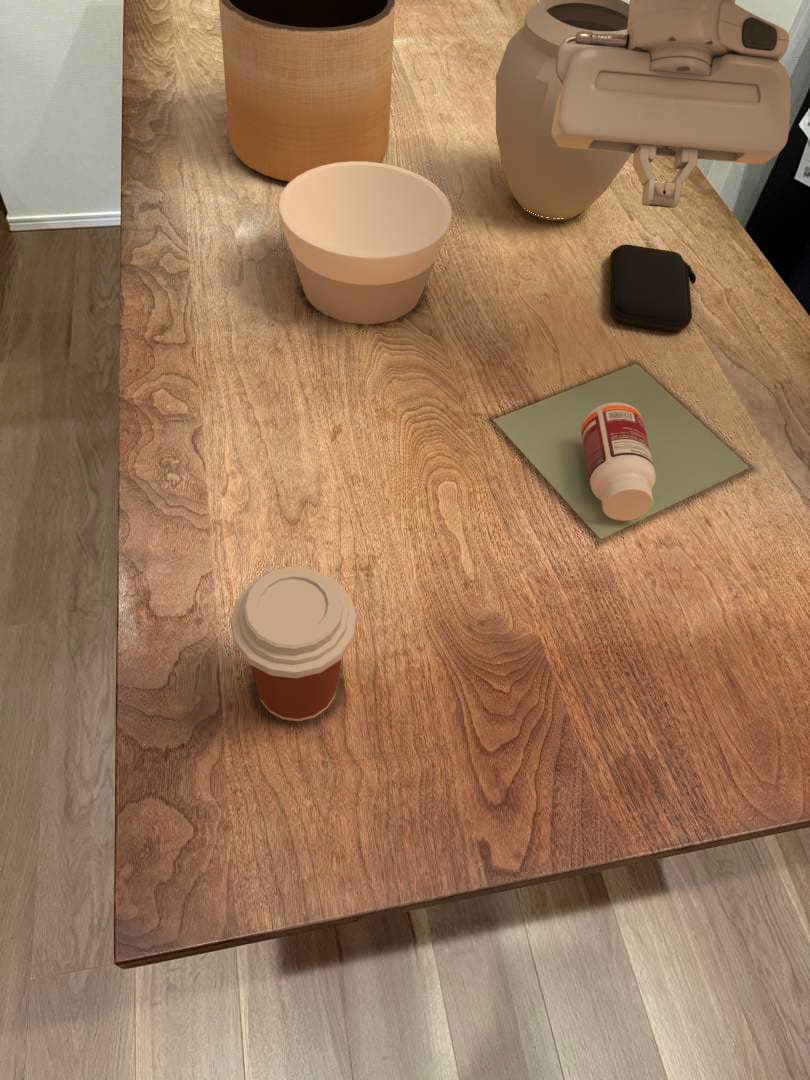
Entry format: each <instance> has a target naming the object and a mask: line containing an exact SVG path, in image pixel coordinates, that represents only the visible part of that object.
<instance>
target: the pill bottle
mask: <svg viewBox="0 0 810 1080" xmlns="http://www.w3.org/2000/svg"><path fill="white" fill-rule="evenodd" d="M581 436H582V441H583V447H584V452H585V458H586V463H587V469H588V474H589V480H590V485H591V489H592V492H593V493H594V495H595V496H596V497H597V498H598V499H600V500H601V502H602V508H603V511H604V513H605V514H606V515H607V516H608V517H610V518H612V519H615V520H622V521H625V520H632V519H636V518H639V517H641V516H643V515H644V514H646V513H647V512H648V511H649V510H650V509H651V507H652V505H653V496H652V491H651V489H652V488H653V486H654V484H655V479H656V474H655V469H654V465H653V461H652V457H651V452H650V448H649V444H648V440H647V436H646V431H645V427H644V423H643V419H642V416H641V414H640V413H639V411H638V410H637V409H636V408H634V407H633V406H631V405H628V404H625V403H618V402H614V403H607V404H604V405H601V406H599V407H597V408H595V409H593V410H592V411H591V412H590V413H588V414H587V416H586V417H585V418H584V420H583V422H582V425H581Z"/></svg>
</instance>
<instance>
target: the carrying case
mask: <svg viewBox="0 0 810 1080" xmlns="http://www.w3.org/2000/svg"><path fill="white" fill-rule="evenodd" d="M608 275H609V278H608V279H609V286H608V287H609V288H608V289H609V290H608V291H609V293H608V294H609V295H608V309H609V314H610V316H611V317H612V319H613V320H614V321H615V322H616V323H617V324H620V325H624V326H630V327H637V328H643V329H650V330H657V331H662V332H669V333H675V332H679V331H681V330H684V329H687V327H688V326H689V325H690V323H691V320H692V318H693V311H692V301H691V288H690V287H691V286H690V283H691V284H692V285H694V284H696V281H697V276H696V274H695V272H694V271H693V268H692V266H691V265H690V264H689V263H687V262H686V261H685V260H684V258H683V256H682V255H681V254H680V253H679V252H676V251H673V250H666V249H660V248H654V247H646V246H641V245H633V244H620V245H618V246H617V247H615V248H614V249H612V251H611V252H610V254H609V273H608Z"/></svg>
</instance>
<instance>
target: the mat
mask: <svg viewBox="0 0 810 1080" xmlns="http://www.w3.org/2000/svg"><path fill="white" fill-rule="evenodd" d="M614 402H618V403H625V404H628V405H631V406H633V407H634V408H636V409H637V410H638V411H639V413H640V414H641V416H642V419H643V423H644V427H645V431H646V436H647V440H648V444H649V448H650V452H651V457H652V461H653V465H654V469H655V474H656V479H655V484H654V486H653V488H652V489H651V491H652V496H653V505H652V507H651V509H650V510H649V511H648V512H647V513H646V514H644V515H643V516H641V517H639V518H636V519H632V520H625V521H622V520H615V519H612V518H610V517H608V516H607V515H606V514H605V513H604V511H603V508H602V502H601V500H600V499H598V498H597V497H596V496H595V495H594V493H593V492H592V489H591V485H590V480H589V474H588V469H587V463H586V458H585V452H584V447H583V441H582V436H581V425H582V422H583V420H584V418H585V417H586V416H587V414H588V413H590V412H591V411H592V410H593V409H595V408H597V407H599V406H601V405H604V404H607V403H614ZM492 421H493V423H494V424H495V425H496V426H497V427H498V428H499V430H500V431H501V432H502V433H503V434H504V435H505V436H506V437H507V438H508V440H509V441H510V442H511V443H512V444H513V445H514V446H515V447H516V449H518V451H520V453H521V454H522V455H523V456H524V457H525V458H526V459H527V460H528V462H529V463H530V464H531V465H532V466H533V467H534V468H535V469H536V470H537V472H538V473H539V474H540V475H541V477H543V478H544V480H545V481H547V483H548V484H549V485H550V486H551V487H552V488H553V489H554V490H555V492H556V493H557V494H558V495H559V496H560V497H561V498H562V499H563V500H564V502H565V503H566V504H567V505H568V506H569V507H570V508H571V509H572V511H574V513H575V514H576V515H577V516H578V517H579V518H580V519H581V520H582V522H583V523H584V524H585V525H586V526H587V527H588V528H589V529H590V530H591V531H592V533H593V534H594V535H595V536H596V537H597V538H598V539H599V540H603V539H605V538H607V537H609V536H611V535H613V534H616V533H617V532H620V531H621V530H623V529H625V528H628V527H630V526H632V525H634V524H636V523H638V522H641V521H642V520H644V519H647V518H649V517H651V516H653V515H655V514H658V513H659V512H662V511H663V510H665V509H667V508H669V507H672V506H673V505H676V504H677V503H680V502H681V501H684V500H687V499H689V498H690V497H692V496H694V495H697V494H699V493H701V492H703V491H705V490H707V489H709V488H711V487H714V486H715V485H717V484H719V483H722V482H725V481H726V480H727V479H730V478H732V477H734V476H736V475H737V474H738V475H739V474H740V473H742V472H745V471H747V470H749V469H750V466H749V465H748V464H747V463H746V462H744V461H743V460H742V459H741V458H740V457H739V456H738V455H737V454H736V453H734V451H733V450H732V449H730V448H729V447H728V446H727V445H726V444H725V443H724V442H723V441H722V440H720V439H719V438H718V437H717V436H716V435H715V434H714V433H713V432H712V431H711V430H710V429H709V428H707V426H705V425H704V424H703V423H702V422H701V421H700V420H699V419H698V418H697V417H695V415H693V414H692V413H691V412H690V411H689V410H688V409H687V408H685V406H683V404H681V403H680V402H679V401H678V400H677V399H676V398H675V397H674V396H673V395H671V394H670V393H669V392H668V390H666V389H665V388H664V387H663V386H662V385H661V384H660V383H659V382H657V380H655V378H654V377H652V376H651V375H650V374H649V373H648V372H646V370H644V369H643V368H642V367H641V366H640V365H639V364H638V363H634V364H631V365H629V366H626V367H624V368H621V369H619V370H617V371H613V372H611V373H609V374H605V375H603V376H601V377H599V378H596V379H593V380H591V381H588V382H585V383H582V384H580V385H578V386H575V387H572V388H571V389H568V390H565V391H563V392H560V393H558V394H557V393H556V394H555V395H552V396H550V397H548V398H545V399H542V400H539V401H537V402H534V403H531V404H529V405H527V406H524V407H521V408H519V409H516V410H513V411H512V412H509V413H506V414H503V415H500V416H499V417H497V418H493V419H492Z"/></svg>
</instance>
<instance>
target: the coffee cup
mask: <svg viewBox="0 0 810 1080" xmlns="http://www.w3.org/2000/svg"><path fill="white" fill-rule="evenodd" d="M357 621H358V614H357V611H356V608H355V605H354V602H353V599H352V596H351V595H350V594H349V592H348V591H347V590H345V588H344V587H343V586H342V585H341V584H340V582H339V581H337V580H336V579H334V578H333V577H331V576H328V575H327V574H324V573H322V572H321V571H318V570H316V569H314V568H312V567H304V566H297V565H291V566H286V567H280V568H275V569H273V570H270V571H269V572H267V573H266V574H264V575H262V576H260V577H259V578H257V579H255V580H254V581H252V582H250V583H249V584H248V585H247V587H246V588H245V589H244V590H243V592H242V593H241V594H240V595H239V596H238V598H237V599H236V600H235V603H234V607H233V610H232V613H231V618H230V628H231V632H232V636H233V641H234V645H235V648H236V649H237V650H238V652H239V653H240V654H241V656H242V657H243V659H245V661H246V662H247V663H248V664H249V665H250V668H251V672H252V675H253V679H254V681H255V685H256V689H257V692H258V695H259V699H260V702H261V703H262V705H263V706H264V707H265V708H266V710H267V711H268V712H269V713H270V714H272V715H273V716H276V717H278V718H280V719H282V720H285V721H292V722H293V721H294V722H301V721H306V720H310V719H314V718H316V717H317V716H318V715H320V714H322V713H324V712H325V711H326V710H327V709H328V708H329V707H330V705H331V704H332V703H333V701H334V699H335V697H336V693H337V686H338V681H339V675H340V670H341V665H342V661H343V658H344V657H345V654H346V653H347V651H348V650H349V649H350V647H351V646H352V644H353V643H354V641H355V635H356V629H357Z"/></svg>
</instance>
